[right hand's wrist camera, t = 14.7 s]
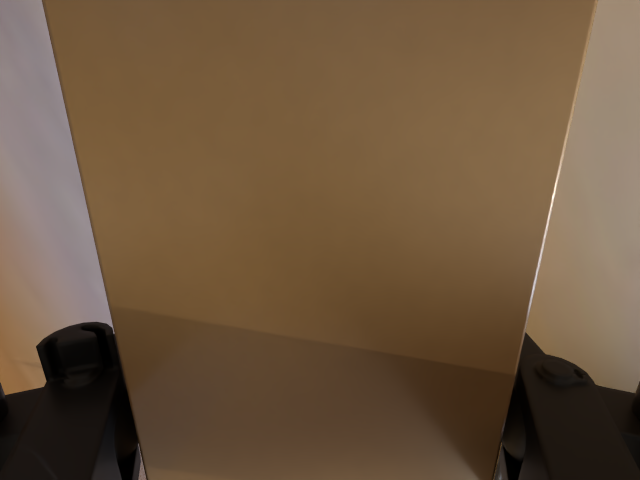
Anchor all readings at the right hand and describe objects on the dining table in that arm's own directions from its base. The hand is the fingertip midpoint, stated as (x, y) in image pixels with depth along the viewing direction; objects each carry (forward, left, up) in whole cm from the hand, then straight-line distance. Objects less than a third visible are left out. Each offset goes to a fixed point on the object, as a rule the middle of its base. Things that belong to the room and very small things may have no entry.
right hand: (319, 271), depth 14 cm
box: (-4, +8, -1) cm, 9 cm away
